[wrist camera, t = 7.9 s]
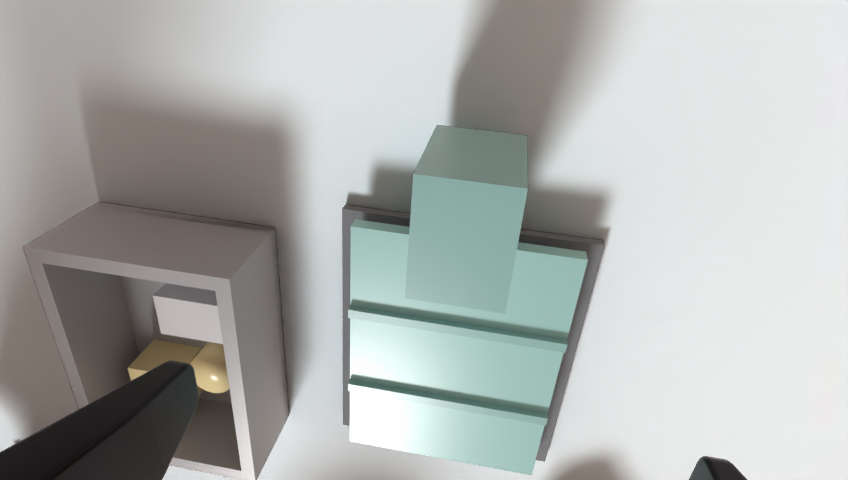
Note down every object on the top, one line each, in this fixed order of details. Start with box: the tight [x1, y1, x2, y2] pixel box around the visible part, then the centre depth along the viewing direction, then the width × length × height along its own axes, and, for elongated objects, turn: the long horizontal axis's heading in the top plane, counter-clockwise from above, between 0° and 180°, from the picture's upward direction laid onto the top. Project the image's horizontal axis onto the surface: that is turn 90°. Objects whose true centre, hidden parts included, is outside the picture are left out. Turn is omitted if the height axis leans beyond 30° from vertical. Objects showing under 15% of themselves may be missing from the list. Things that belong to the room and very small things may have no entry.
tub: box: [23, 202, 289, 480], centre depth 23 cm, size 11×8×4 cm
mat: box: [342, 205, 605, 461], centre depth 23 cm, size 12×10×1 cm
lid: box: [348, 125, 588, 475], centre depth 20 cm, size 16×9×5 cm, turn 176°
